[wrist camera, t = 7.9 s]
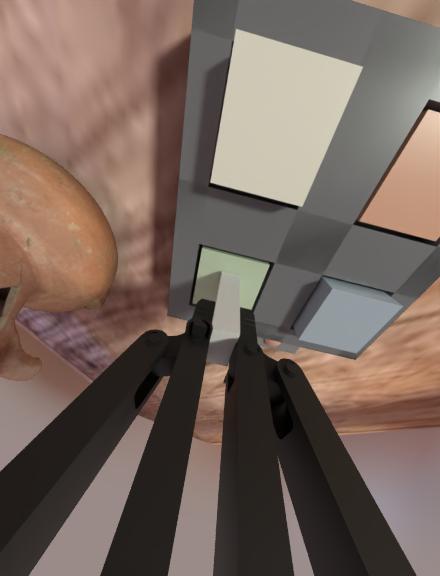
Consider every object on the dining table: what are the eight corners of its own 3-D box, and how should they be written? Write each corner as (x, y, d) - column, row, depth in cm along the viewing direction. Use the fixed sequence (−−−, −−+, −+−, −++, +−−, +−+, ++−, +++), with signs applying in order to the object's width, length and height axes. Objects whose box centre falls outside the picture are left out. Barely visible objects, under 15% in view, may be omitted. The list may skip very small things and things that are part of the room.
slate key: (382, 290, 15) (403, 306, 13) (344, 335, 18) (356, 353, 16) (320, 275, 15) (332, 288, 13) (291, 322, 17) (298, 339, 16)
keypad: (523, 114, 11) (631, 88, 8) (338, 334, 21) (355, 359, 18) (210, 20, 10) (197, -48, 7) (177, 296, 21) (167, 315, 18)
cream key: (337, 90, 9) (363, 66, 7) (292, 203, 12) (302, 206, 10) (236, 60, 9) (236, 28, 7) (214, 182, 12) (210, 182, 10)
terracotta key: (477, 146, 11) (527, 138, 9) (408, 233, 14) (435, 241, 12) (395, 122, 11) (428, 109, 9) (342, 215, 14) (359, 221, 12)
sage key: (266, 255, 16) (269, 265, 14) (247, 303, 19) (248, 316, 17) (206, 240, 16) (202, 248, 14) (197, 290, 18) (192, 303, 17)
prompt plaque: (303, 333, 22) (306, 339, 21) (293, 348, 23) (295, 355, 22) (209, 310, 21) (208, 316, 20) (204, 328, 23) (203, 333, 22)
